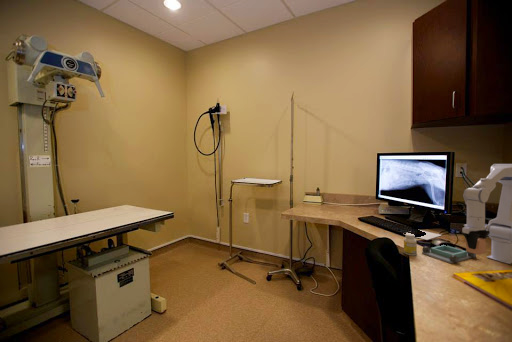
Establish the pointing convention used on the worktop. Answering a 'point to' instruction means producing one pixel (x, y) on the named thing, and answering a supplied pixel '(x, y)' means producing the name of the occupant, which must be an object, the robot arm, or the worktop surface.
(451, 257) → the chassis
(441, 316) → the worktop surface
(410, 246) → the supplement bottle
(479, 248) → the block
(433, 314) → the worktop surface
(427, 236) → the paper stack
